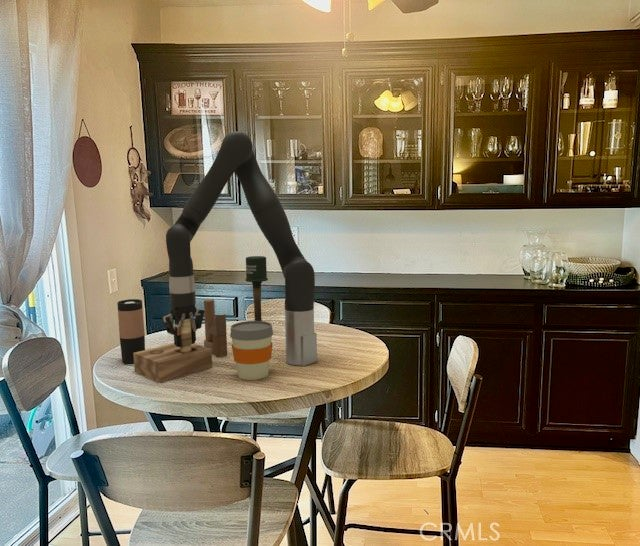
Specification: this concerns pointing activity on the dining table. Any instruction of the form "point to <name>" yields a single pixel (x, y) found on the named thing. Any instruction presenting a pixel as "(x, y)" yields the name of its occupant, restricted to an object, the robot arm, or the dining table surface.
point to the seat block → (171, 362)
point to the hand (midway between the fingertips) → (185, 344)
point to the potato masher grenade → (256, 280)
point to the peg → (186, 337)
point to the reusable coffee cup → (252, 348)
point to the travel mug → (131, 328)
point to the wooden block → (215, 330)
